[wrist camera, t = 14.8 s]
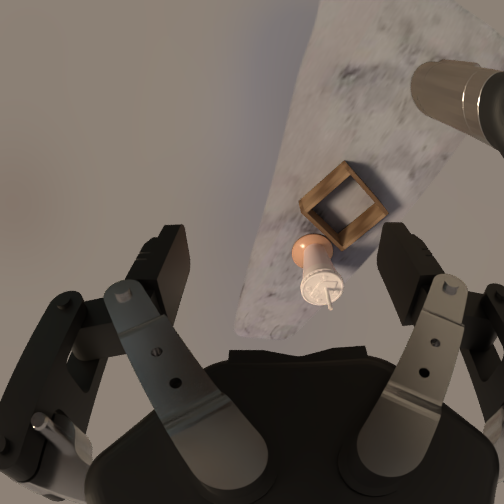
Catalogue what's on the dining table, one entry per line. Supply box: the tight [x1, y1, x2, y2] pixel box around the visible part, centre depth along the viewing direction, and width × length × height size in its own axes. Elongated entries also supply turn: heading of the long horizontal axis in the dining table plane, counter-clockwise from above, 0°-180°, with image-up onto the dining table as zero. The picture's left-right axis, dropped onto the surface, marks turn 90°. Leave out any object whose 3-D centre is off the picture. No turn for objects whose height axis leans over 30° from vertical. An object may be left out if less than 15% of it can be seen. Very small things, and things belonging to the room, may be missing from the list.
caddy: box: [299, 161, 389, 251], centre depth 46 cm, size 10×10×4 cm
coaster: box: [292, 234, 333, 268], centre depth 53 cm, size 7×7×1 cm
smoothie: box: [300, 243, 344, 310], centre depth 47 cm, size 6×6×14 cm
